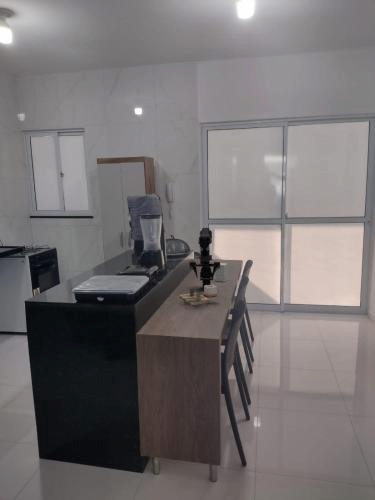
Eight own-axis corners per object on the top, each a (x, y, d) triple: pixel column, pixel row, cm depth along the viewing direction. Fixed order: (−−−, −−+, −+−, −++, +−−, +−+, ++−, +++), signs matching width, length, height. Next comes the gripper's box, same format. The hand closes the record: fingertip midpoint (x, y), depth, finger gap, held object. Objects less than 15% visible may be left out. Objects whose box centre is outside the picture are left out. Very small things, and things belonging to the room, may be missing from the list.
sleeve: (204, 294, 241) (204, 285, 240) (212, 293, 243) (212, 284, 242) (208, 297, 235) (208, 287, 234) (216, 295, 237) (216, 286, 236)
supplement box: (228, 279, 278) (228, 263, 276) (224, 282, 272) (224, 265, 270) (219, 278, 282) (219, 262, 280) (215, 281, 276) (214, 264, 273)
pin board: (179, 296, 237) (179, 288, 236) (198, 294, 242) (197, 285, 241) (192, 305, 219) (192, 296, 218) (211, 302, 224) (211, 293, 223)
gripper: (189, 249, 222) (188, 275, 217) (220, 249, 221) (220, 275, 216) (189, 255, 232) (189, 280, 227) (219, 256, 231) (220, 280, 226)
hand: (204, 278), depth 224 cm, fingers open, 9 cm apart
